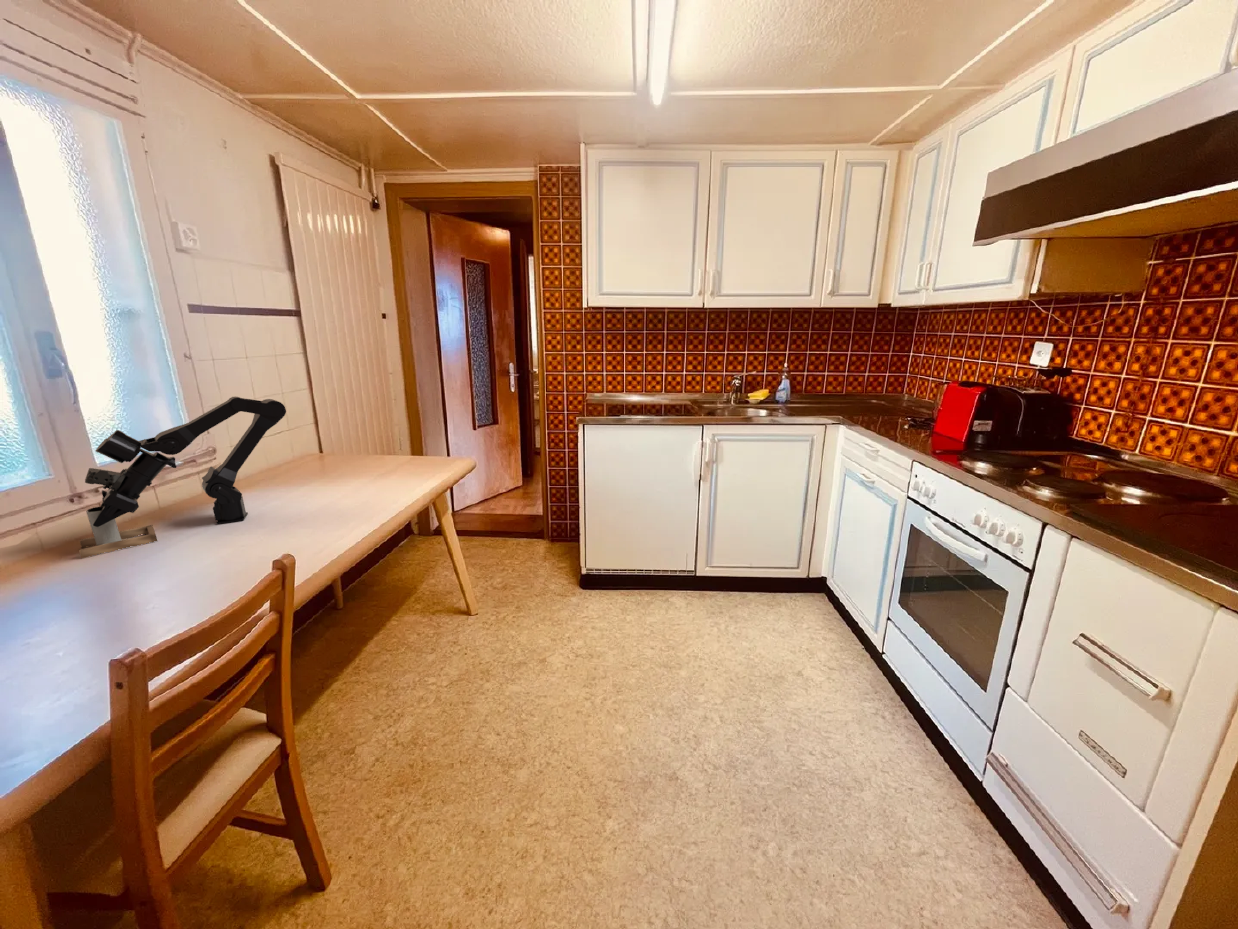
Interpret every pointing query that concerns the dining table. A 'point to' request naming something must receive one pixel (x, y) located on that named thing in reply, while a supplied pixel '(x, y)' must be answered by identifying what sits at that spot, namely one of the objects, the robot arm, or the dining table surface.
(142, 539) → the tan u-shaped frame
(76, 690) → the dining table surface
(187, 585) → the dining table surface
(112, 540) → the planter
